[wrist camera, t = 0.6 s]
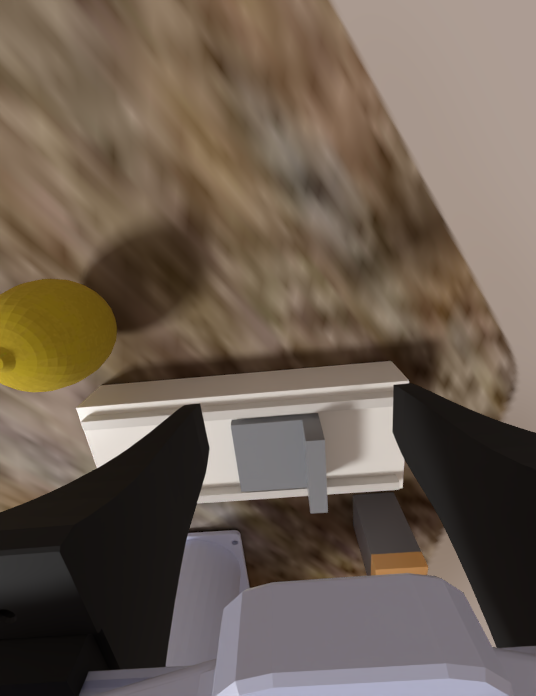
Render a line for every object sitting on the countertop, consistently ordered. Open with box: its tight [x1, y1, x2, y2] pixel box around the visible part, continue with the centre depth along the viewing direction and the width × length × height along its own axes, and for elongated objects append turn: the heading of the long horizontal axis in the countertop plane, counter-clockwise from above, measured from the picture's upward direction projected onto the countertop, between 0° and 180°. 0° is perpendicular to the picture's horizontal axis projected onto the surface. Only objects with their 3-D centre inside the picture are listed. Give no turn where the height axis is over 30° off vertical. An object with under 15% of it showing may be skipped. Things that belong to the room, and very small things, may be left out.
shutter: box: [231, 413, 328, 513], centre depth 19 cm, size 5×5×3 cm
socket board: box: [76, 361, 409, 503], centre depth 22 cm, size 20×8×4 cm, turn 96°
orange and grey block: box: [353, 492, 428, 576], centre depth 23 cm, size 3×3×6 cm
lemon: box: [0, 279, 117, 392], centre depth 17 cm, size 6×6×8 cm
